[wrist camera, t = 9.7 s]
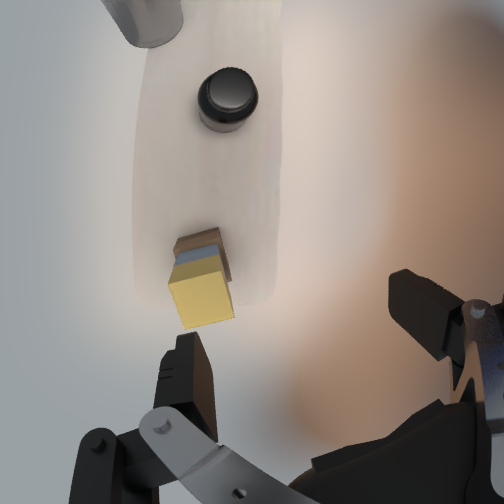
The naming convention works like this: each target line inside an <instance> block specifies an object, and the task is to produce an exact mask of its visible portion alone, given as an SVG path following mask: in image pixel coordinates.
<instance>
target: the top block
mask: <svg viewBox="0 0 504 504" xmlns="http://www.w3.org/2000/svg"><path fill="white" fill-rule="evenodd" d="M168 286H169V289H170V291H171V294H172V297H173V300H174V302H175V305H176V308H177V310H178V313H179V315H180V318H181V320H182V323H183V326H184V328H185V330H186V329H190V328H194V327H199V326H203V325H207V324H211V323H216V322H220V321H224V320H228V319H232V318H235V317H234V313H233V306H232V301H231V296H230V292H229V289H228V285H227V281H226V278H225V274H224V271H223V267H222V263H221V260H220V256H219V254H218V255H214V256H210V257H206V258H203V259H199V260H195V261H191V262H187V263H183V264H180V265H176V266H174V268H173V271H172V274H171V277H170V280H169V283H168Z"/></svg>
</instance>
